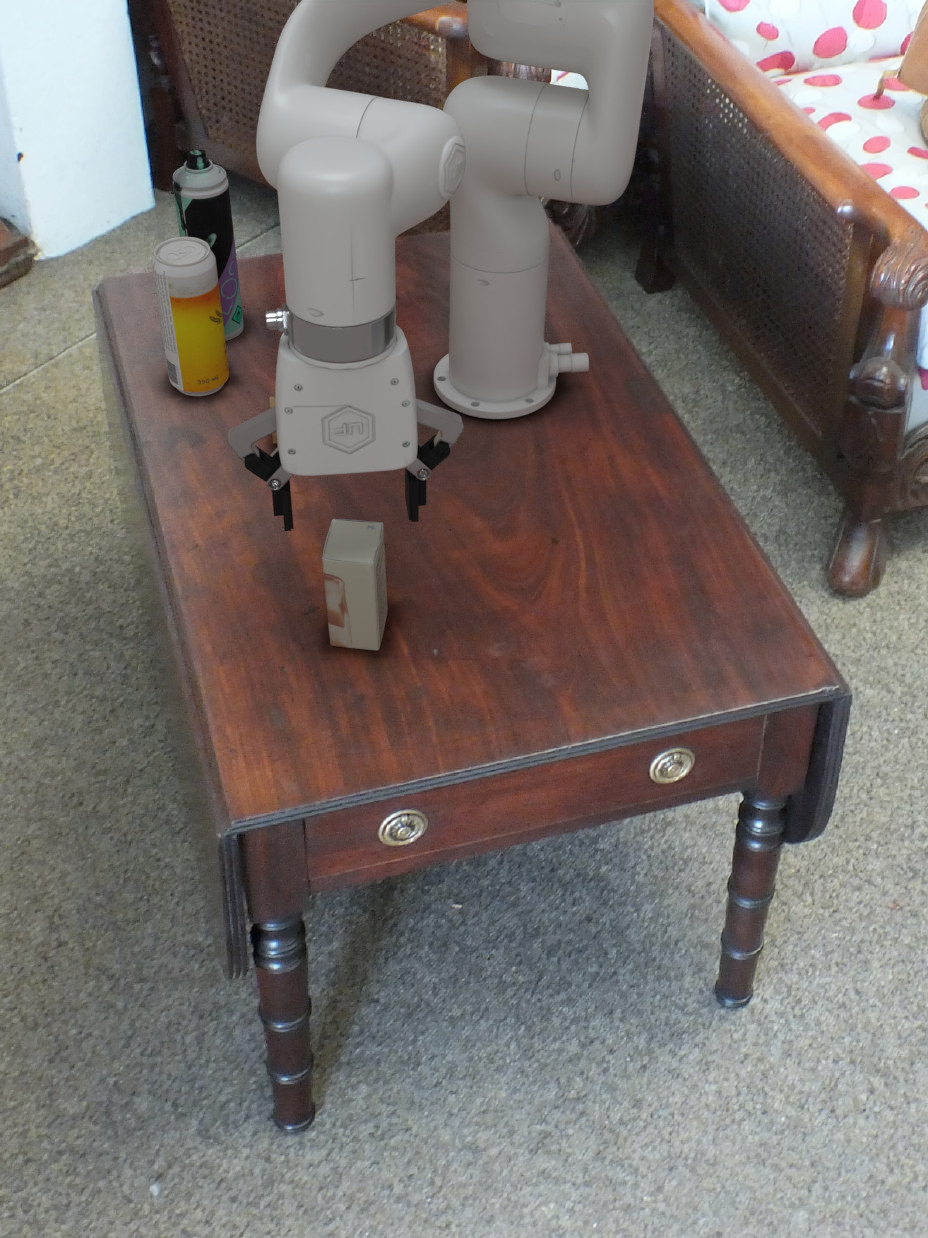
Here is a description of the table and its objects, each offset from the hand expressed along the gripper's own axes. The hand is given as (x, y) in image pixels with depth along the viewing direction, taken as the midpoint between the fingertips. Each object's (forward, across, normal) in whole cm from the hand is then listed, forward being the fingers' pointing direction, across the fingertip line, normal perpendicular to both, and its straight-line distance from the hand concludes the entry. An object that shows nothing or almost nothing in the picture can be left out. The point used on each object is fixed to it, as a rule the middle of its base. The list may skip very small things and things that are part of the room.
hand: (350, 515), depth 107 cm
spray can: (+12, -11, +49) cm, 51 cm away
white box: (+13, 0, +1) cm, 13 cm away
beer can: (+12, -13, +39) cm, 43 cm away
